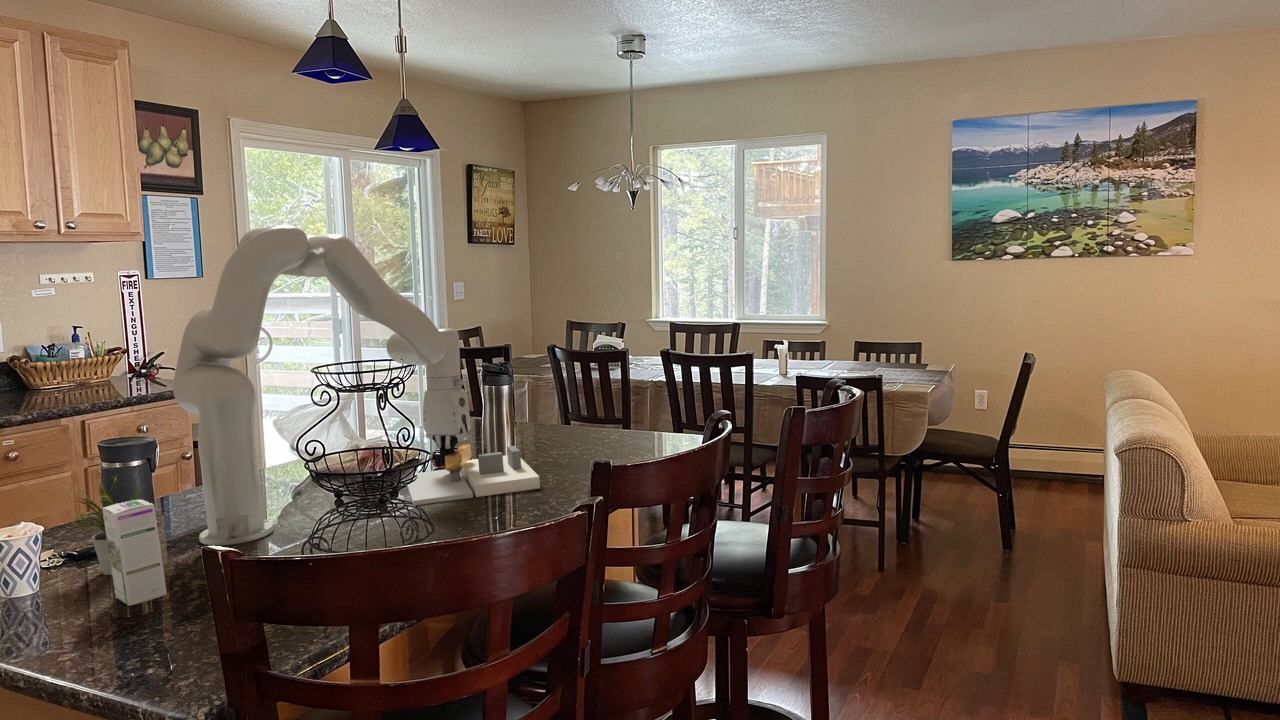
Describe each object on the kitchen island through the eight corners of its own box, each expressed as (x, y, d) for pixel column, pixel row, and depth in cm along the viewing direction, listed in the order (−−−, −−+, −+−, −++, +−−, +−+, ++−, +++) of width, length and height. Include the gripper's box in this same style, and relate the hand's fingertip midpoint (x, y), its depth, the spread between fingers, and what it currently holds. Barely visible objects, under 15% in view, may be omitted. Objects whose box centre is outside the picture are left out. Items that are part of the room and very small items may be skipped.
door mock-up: (540, 488, 186) (538, 458, 185) (413, 505, 177) (410, 474, 177) (517, 464, 208) (515, 437, 207) (404, 478, 200) (401, 450, 199)
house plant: (56, 571, 149) (43, 476, 147) (146, 549, 158) (135, 459, 156) (78, 591, 138) (65, 489, 137) (173, 565, 148) (161, 470, 146)
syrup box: (168, 594, 135) (157, 502, 133) (126, 607, 131) (113, 512, 129) (154, 586, 139) (143, 497, 137) (112, 599, 134) (100, 506, 133)
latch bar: (460, 470, 190) (459, 457, 189) (444, 471, 190) (442, 457, 189) (475, 456, 202) (474, 444, 202) (459, 457, 202) (458, 444, 202)
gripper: (481, 382, 197) (485, 463, 199) (428, 381, 203) (432, 459, 205) (460, 387, 190) (464, 470, 192) (406, 385, 197) (410, 466, 198)
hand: (447, 464), depth 199 cm, fingers closed
